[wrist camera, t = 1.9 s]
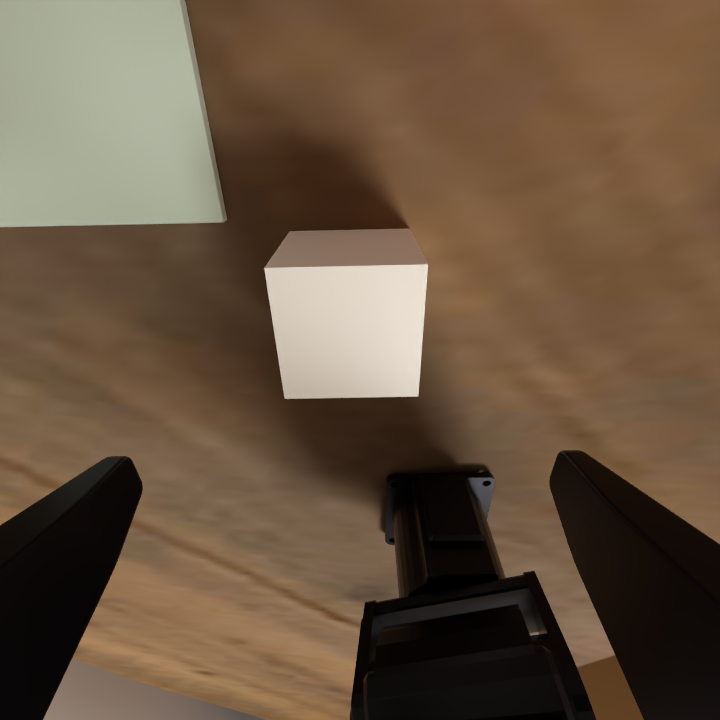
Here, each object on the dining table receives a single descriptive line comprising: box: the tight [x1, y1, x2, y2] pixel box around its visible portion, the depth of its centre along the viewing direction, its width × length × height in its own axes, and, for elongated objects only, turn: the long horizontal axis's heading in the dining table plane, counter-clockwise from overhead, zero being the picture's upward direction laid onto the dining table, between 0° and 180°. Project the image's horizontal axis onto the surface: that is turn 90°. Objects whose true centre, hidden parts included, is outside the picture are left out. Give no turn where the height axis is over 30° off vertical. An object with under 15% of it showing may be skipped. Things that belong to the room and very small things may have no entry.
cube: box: [264, 228, 428, 399], centre depth 15 cm, size 5×5×5 cm
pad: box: [0, 0, 227, 227], centre depth 13 cm, size 10×10×1 cm
